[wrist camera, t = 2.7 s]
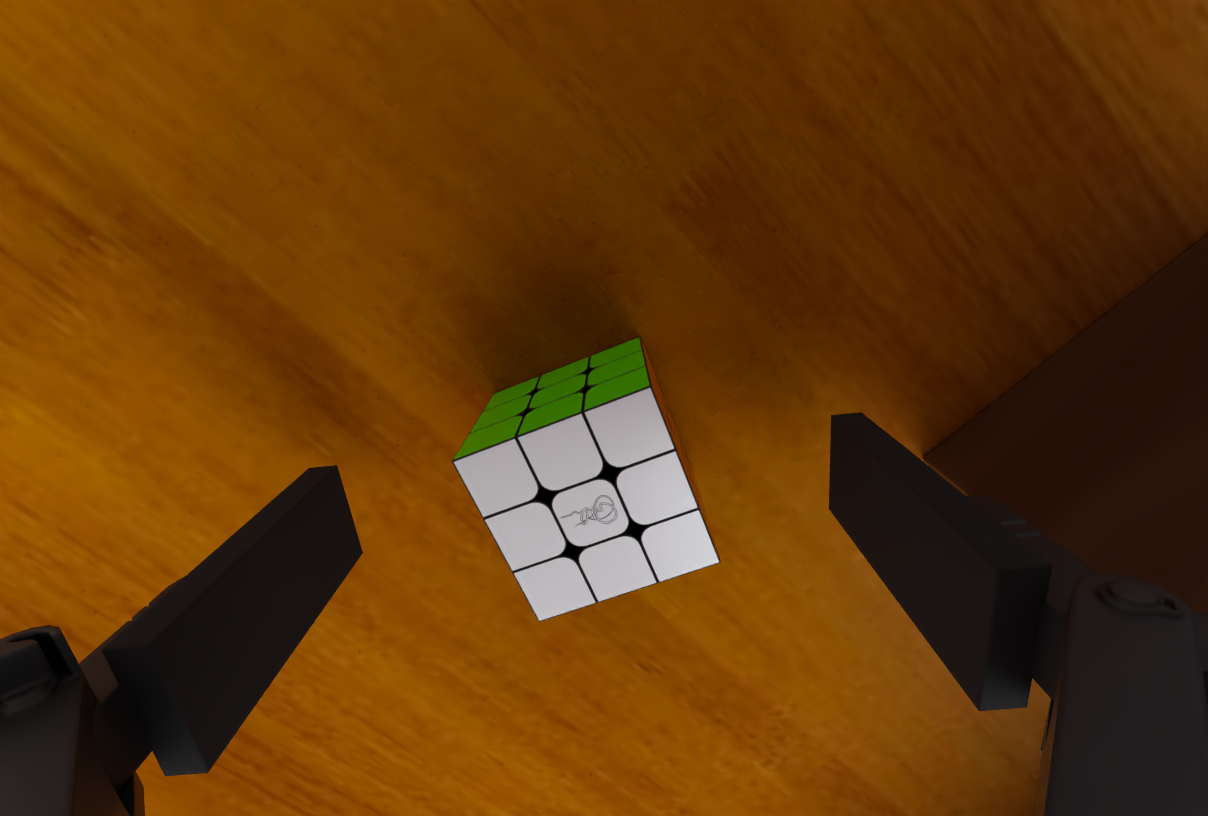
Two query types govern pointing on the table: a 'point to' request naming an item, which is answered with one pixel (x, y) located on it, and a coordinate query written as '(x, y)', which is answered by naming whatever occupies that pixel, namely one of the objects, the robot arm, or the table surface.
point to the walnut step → (1110, 438)
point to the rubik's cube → (587, 483)
